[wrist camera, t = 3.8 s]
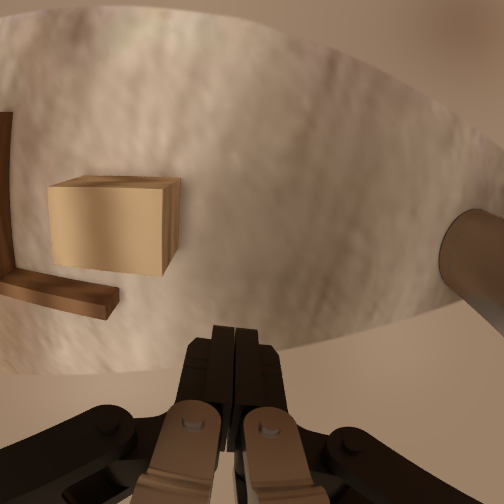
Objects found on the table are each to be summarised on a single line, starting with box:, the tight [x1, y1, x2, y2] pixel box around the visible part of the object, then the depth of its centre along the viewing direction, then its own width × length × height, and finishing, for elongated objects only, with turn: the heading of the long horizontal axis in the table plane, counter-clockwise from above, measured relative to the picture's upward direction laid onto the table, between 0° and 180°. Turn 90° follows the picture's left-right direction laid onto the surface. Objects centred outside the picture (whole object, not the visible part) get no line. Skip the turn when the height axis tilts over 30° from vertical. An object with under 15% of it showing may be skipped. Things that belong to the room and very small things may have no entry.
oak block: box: [48, 176, 180, 276], centre depth 23 cm, size 9×6×6 cm, turn 85°
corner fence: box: [0, 112, 119, 320], centre depth 23 cm, size 15×18×4 cm
